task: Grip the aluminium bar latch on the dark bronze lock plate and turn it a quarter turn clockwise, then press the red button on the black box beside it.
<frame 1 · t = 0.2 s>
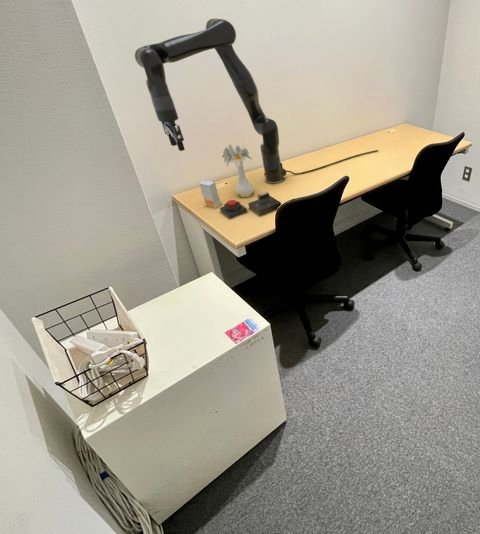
hand: (178, 147, 142), 29 cm above the table, tool pointing down, fingers open, 8 cm apart
lock plate: (265, 208, 160), on the table
cosmetic box: (213, 205, 162), on the table
button box: (234, 212, 157), on the table
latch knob: (263, 198, 156), point 5 cm above the table, hinge at 0.0°
flower vase: (244, 194, 171), on the table
button: (231, 203, 154), point 4 cm above the table, slide at 0.1 cm
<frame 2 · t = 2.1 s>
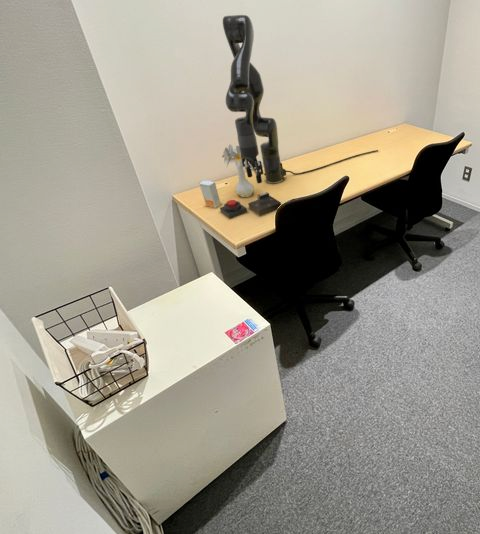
hand: (254, 179, 150), 15 cm above the table, tool pointing down, fingers open, 8 cm apart
nothing on the table moved.
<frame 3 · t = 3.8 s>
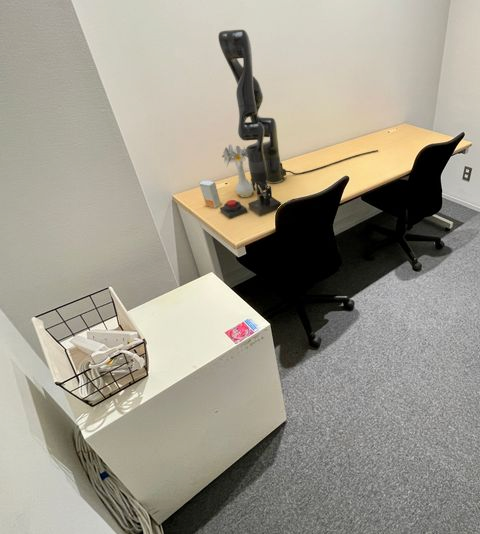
hand: (264, 202, 158), 3 cm above the table, tool pointing down, fingers closed on lock plate, 6 cm apart
nothing on the table moved.
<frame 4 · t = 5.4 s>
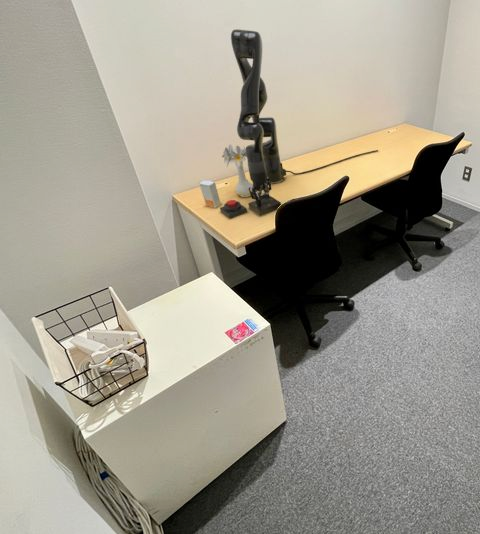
hand: (263, 202, 158), 3 cm above the table, tool pointing down, fingers open, 6 cm apart
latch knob: (263, 198, 156), point 5 cm above the table, hinge at -8.0°, touching gripper
everything else where it was.
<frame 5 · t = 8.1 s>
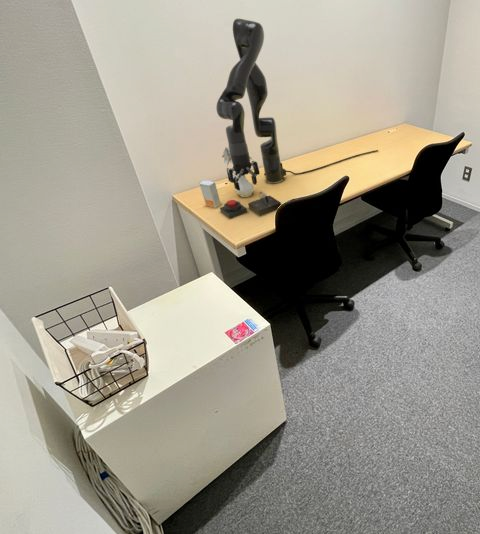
hand: (246, 187, 150), 12 cm above the table, tool pointing down, fingers open, 8 cm apart
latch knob: (263, 198, 156), point 5 cm above the table, hinge at -90.2°
everything else where it was.
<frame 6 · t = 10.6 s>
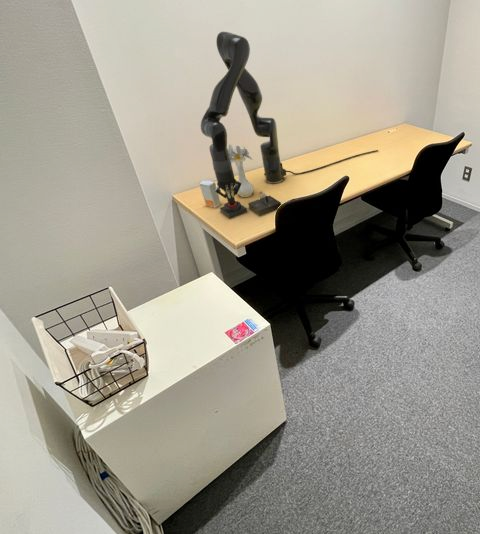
hand: (232, 204, 154), 4 cm above the table, tool pointing down, fingers closed
button: (232, 205, 154), point 3 cm above the table, slide at -0.9 cm, touching gripper
everything else where it was.
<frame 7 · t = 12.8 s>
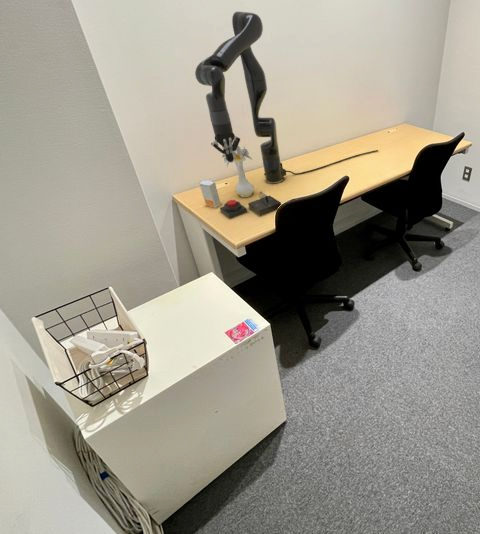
hand: (230, 161, 147), 23 cm above the table, tool pointing down, fingers closed
button: (231, 203, 154), point 4 cm above the table, slide at 0.1 cm
everything else where it was.
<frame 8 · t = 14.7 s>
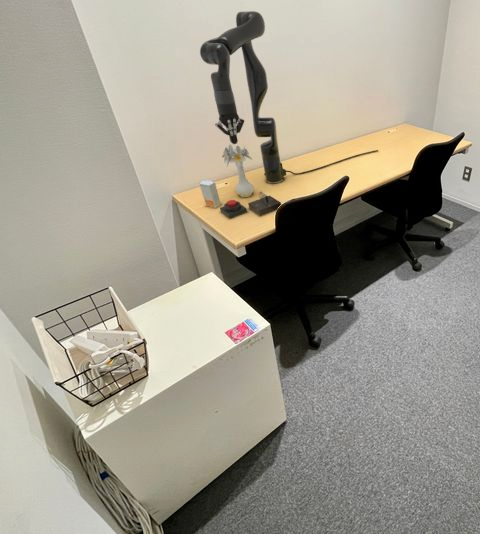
hand: (234, 143, 146), 29 cm above the table, tool pointing down, fingers closed
nothing on the table moved.
at the end: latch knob at -90° (first picture: +0°); button pushed in 1.1 cm at the most during the clip, back to where it started at the end; button slide at 0.1 cm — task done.
